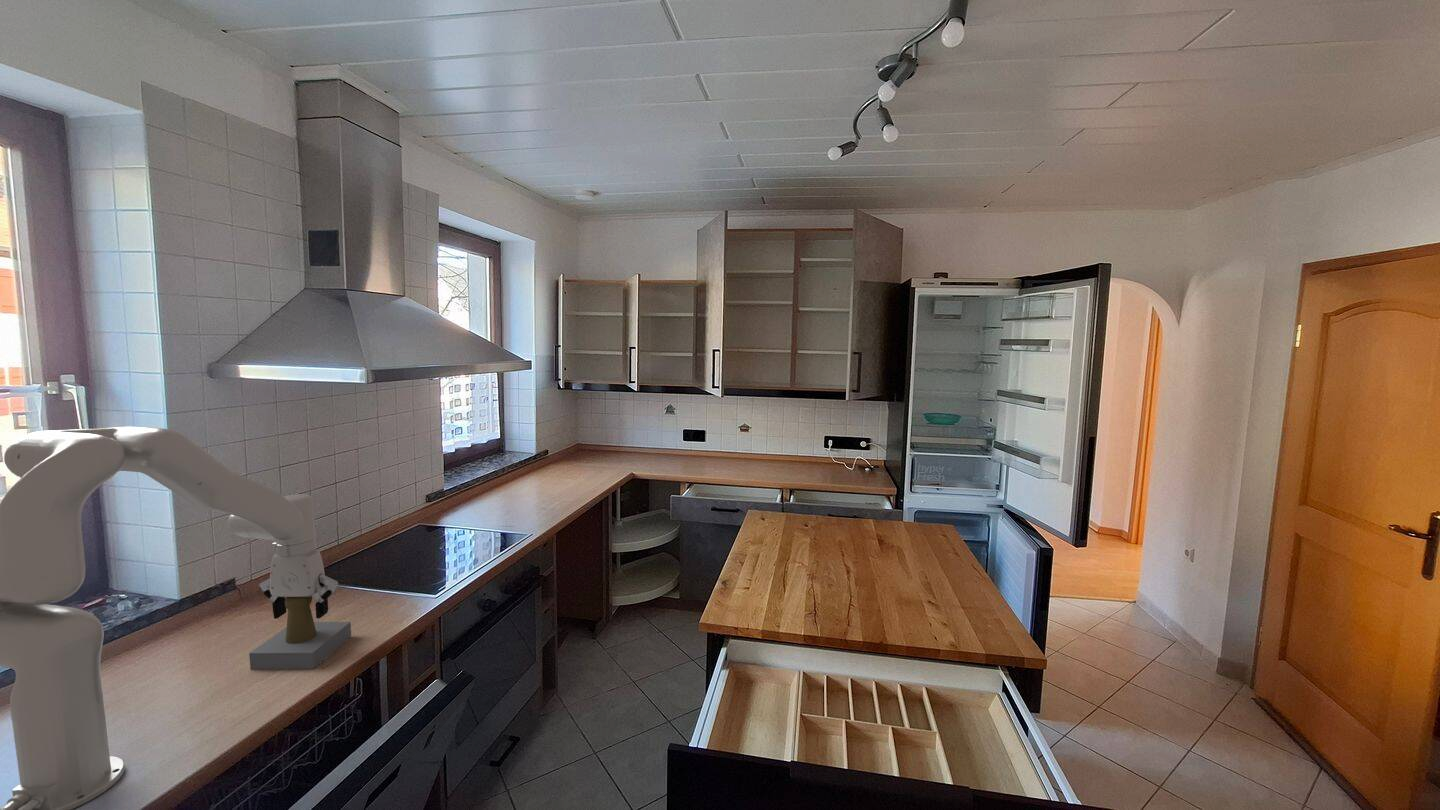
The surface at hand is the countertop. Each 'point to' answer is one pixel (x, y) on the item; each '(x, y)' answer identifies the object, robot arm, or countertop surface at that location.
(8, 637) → the robot arm
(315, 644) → the base block
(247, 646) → the countertop surface
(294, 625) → the cork
